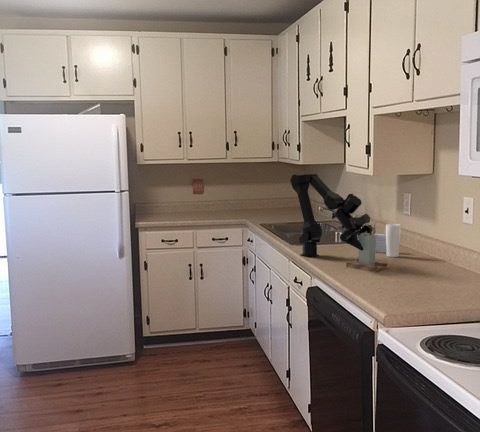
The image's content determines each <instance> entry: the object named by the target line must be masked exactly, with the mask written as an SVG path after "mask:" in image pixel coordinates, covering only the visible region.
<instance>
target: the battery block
mask: <svg viewBox="0 0 480 432" xmlns="http://www.w3.org/2000/svg"><path fill="white" fill-rule="evenodd" d="M358 240H359V242H360V244H361V245H362V247H363V249H364V250H362V251H361V250H359V249H358V259H359V260H358V264H364V265H370V266H375V261H376V252H375V244H376V235H374V234H371V235H369V233H366V234H363V235H358Z"/></svg>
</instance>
